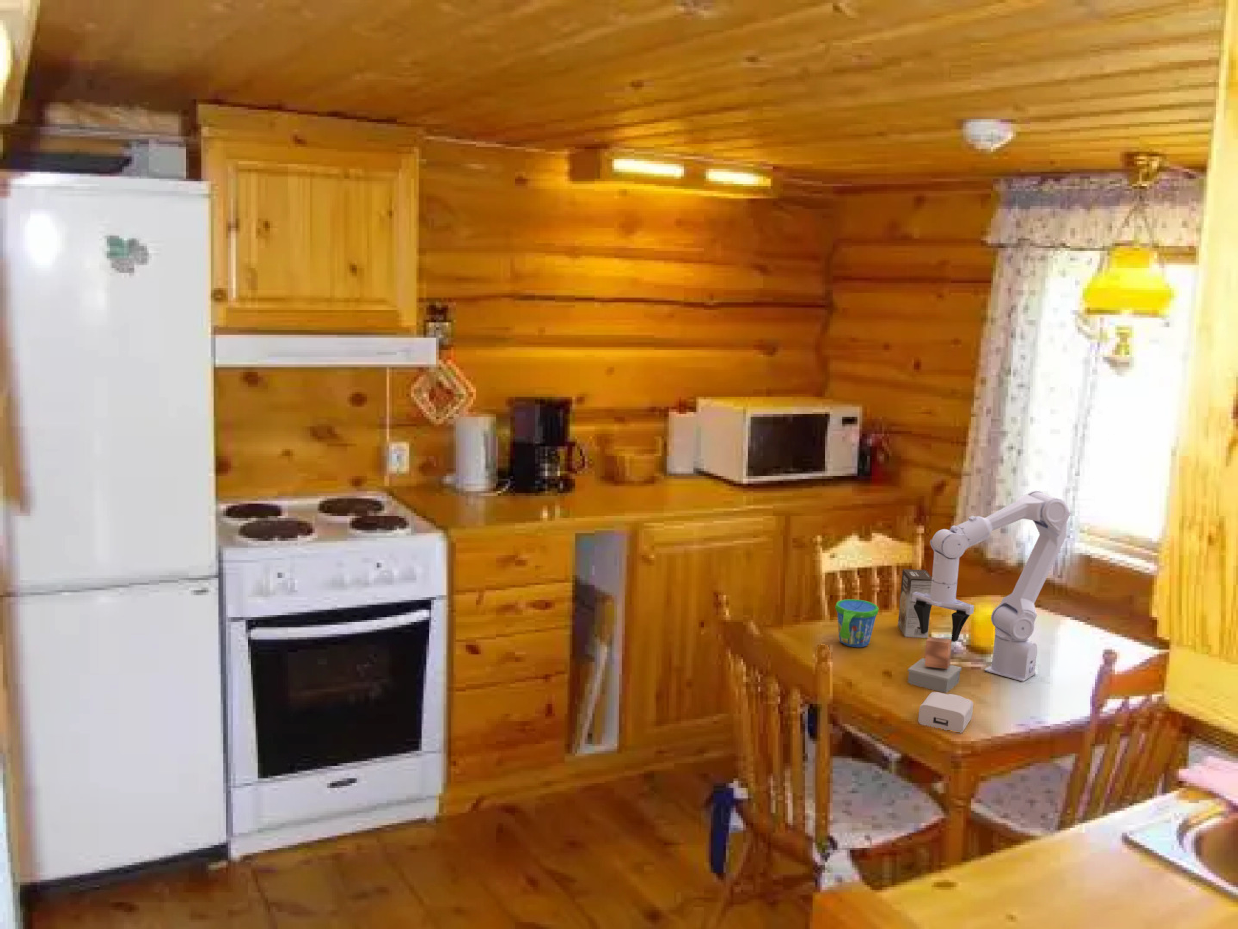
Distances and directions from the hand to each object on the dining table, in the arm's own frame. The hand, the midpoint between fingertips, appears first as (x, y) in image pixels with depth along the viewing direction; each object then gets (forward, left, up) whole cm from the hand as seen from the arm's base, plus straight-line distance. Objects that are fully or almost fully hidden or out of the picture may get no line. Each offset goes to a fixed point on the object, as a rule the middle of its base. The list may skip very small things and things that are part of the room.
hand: (939, 636), depth 262 cm
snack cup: (+25, -4, -10) cm, 27 cm away
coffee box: (+19, -25, -10) cm, 32 cm away
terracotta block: (-2, +5, -5) cm, 7 cm away
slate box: (-2, +6, -10) cm, 11 cm away
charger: (-14, +22, -10) cm, 28 cm away
